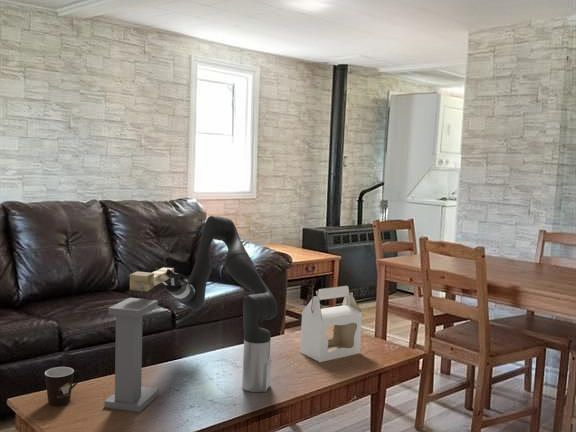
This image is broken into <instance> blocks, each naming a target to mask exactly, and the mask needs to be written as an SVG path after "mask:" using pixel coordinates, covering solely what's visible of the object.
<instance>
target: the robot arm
mask: <svg viewBox="0 0 576 432" xmlns="http://www.w3.org/2000/svg"><path fill="white" fill-rule="evenodd" d="M213 240H215V241H221V242H223V243H224V244H225V245H226V248H227V252H226V255H225V266H226V269H227V270H228V272H229V274H230V276H231V277H232V279H233V280H234V281H235V282H237V284H239V285H241V286H242V287H243V288H246V289H247V290H249V291H250V293H252V294H247V295H246V296H245V297H244V299H243V302H242V315H243V316H242V319H243V322H242V323H243V325H242V329H243V355H242V356H243V358H242V382H241V383H242V384H241V385H242V389H243V390H244V391H246V392H250V393H262V392H263V393H267V391H268V390H269V388H270V387H271V378H272V377H271V375H272V374H271V373H272V360H271V359H270V358H271V336H272V334H271V331H270V330H269V329H266V328H263V327H259V324H258V323H259V322H261V321H268V320H272V319H274V318H276V316H278V315H277V314H278V311H279V310H278V304H277V301H276V298H275V296H274V295H273V293H272V292H271V290H270V289H269V287H268V286H267V285H266V283H265V281H264V280H263V279H262V277H261V275H260V273H259V271H258V270H257V268H256V267H255V264H254V263H253V261H252V258H251V257H250V255H249V253H248V252H247V250H246V248H245V246H244V244H243V242H242V239H241V238H240V235H239V232H238V229H237V228H236V225H235V223H234V222H233V220H232V219H230V218H228V217H224V216H219V215H214V214H213V215H210V216H208V218H207V219H206V220H205V222H204V226H203V229H202V232H201V237H200V242H199V246H198V251H197V257H196V260H195V262H194V263H195V264H194V266H193V269H192V271H191V272H190V273H191V274H190V276H189V277H187V276H186V275H184V274H182V273H179V272H177V273H176V272H175V271H174V272H172V271H171V270H170V269H167V273H166V275H167V276H168V277H169V278H170V279H168V280H166V281H164V282H162V283H161V284H163V285H164V286H163V287H164V288H165V290H166V291H167V292H168V293H169V294H171V295H172V296H173V297H175V298H176V299H177V301H178V302H179V303H181V304H182V305H183V306H185V307H187V308H188V309H190V310H192V311H199V310H200V309H201V308H202V307H203V306H204V303H205V300H206V299H205V298H206V288H207V283H208V281H209V278H210V276H211V273H212V267H213V266H212V265H213V263H212V259H211V244H212V242H213ZM159 269H160V268H158V267H155V268H154V269H153V272H154V271H157V270H159Z"/></svg>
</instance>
